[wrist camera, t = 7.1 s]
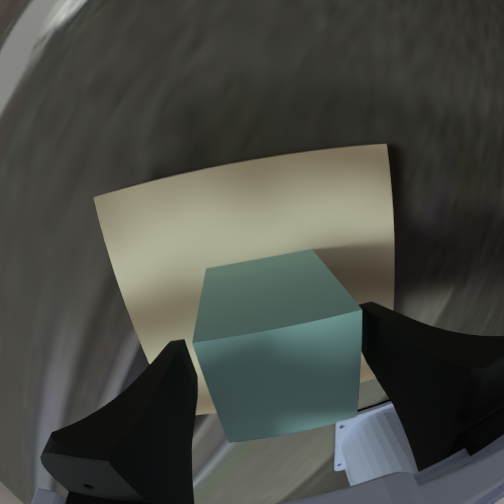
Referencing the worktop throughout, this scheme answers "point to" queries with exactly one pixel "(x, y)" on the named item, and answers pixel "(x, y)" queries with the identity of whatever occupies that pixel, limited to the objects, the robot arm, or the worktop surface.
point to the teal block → (278, 345)
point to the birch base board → (248, 234)
